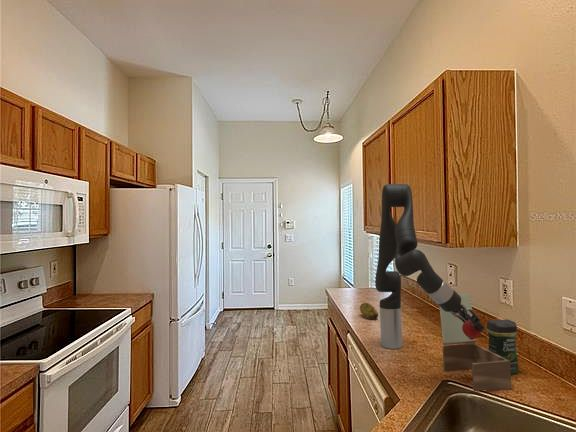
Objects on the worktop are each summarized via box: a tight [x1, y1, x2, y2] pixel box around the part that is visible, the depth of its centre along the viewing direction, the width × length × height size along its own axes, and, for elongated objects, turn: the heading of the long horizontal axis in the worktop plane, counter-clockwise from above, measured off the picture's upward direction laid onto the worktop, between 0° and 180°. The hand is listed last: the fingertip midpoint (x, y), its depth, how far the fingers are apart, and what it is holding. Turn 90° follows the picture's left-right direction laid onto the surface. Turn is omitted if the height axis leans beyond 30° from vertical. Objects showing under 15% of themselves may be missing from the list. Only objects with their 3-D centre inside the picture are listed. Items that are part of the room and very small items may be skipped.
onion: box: [462, 321, 482, 340], centre depth 126 cm, size 6×6×8 cm
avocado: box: [359, 302, 379, 320], centre depth 209 cm, size 8×13×8 cm, turn 4°
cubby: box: [442, 342, 512, 392], centre depth 126 cm, size 18×13×9 cm
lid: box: [438, 293, 477, 346], centre depth 136 cm, size 18×13×1 cm
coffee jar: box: [486, 318, 520, 375], centre depth 132 cm, size 10×8×19 cm
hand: (476, 327), depth 127 cm, fingers closed on onion, 5 cm apart
